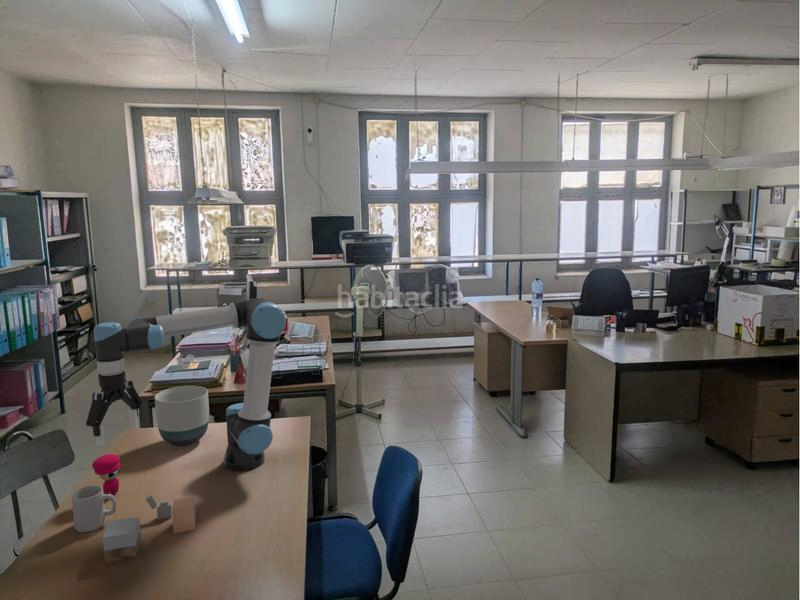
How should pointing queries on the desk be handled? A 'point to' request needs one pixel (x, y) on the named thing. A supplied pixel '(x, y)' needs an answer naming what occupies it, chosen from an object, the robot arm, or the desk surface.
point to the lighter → (160, 508)
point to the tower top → (121, 533)
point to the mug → (90, 508)
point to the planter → (182, 414)
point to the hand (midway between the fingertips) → (118, 436)
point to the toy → (108, 472)
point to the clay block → (184, 514)
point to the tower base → (122, 552)
